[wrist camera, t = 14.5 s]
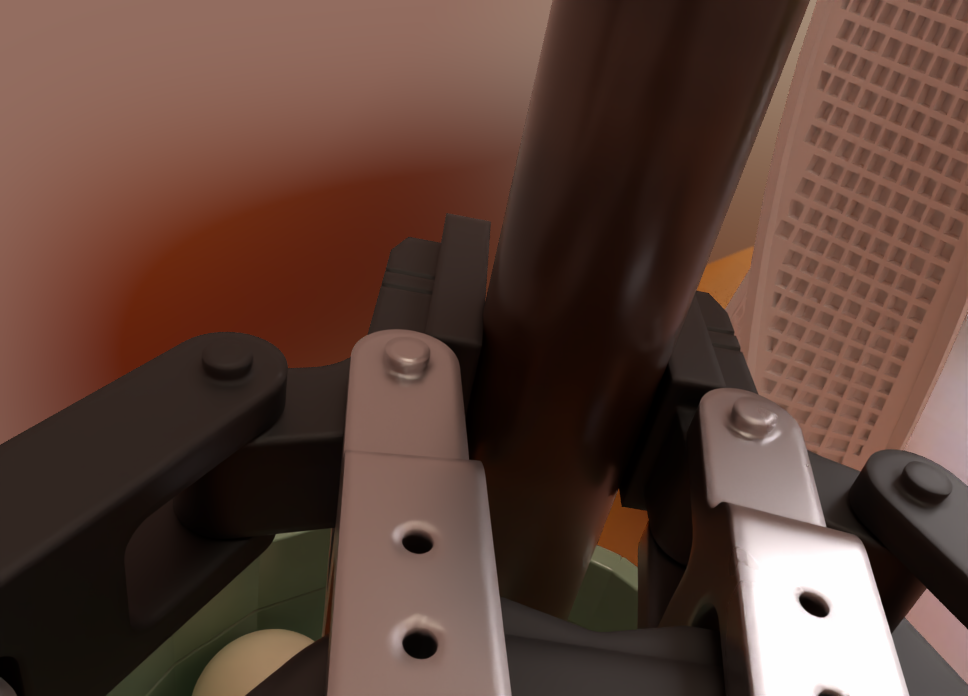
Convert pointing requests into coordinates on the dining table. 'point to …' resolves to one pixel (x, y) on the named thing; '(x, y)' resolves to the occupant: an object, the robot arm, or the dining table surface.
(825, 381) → the skyscraper
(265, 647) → the bead
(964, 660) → the dining table surface
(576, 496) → the pestle
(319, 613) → the bowl
